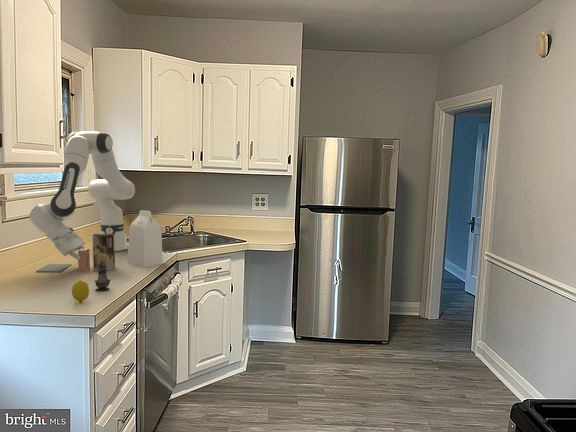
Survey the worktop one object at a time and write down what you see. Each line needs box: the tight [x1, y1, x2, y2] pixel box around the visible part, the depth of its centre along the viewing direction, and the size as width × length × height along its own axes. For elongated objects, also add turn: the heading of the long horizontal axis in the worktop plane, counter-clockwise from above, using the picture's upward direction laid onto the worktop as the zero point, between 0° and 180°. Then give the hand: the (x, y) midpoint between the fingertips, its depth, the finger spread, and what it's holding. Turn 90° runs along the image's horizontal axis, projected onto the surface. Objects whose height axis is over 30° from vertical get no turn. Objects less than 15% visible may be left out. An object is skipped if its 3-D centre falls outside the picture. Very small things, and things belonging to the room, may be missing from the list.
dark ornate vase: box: [94, 260, 112, 293], centre depth 178 cm, size 6×6×12 cm
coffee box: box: [92, 233, 116, 272], centre depth 211 cm, size 9×6×16 cm
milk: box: [127, 209, 164, 268], centre depth 224 cm, size 12×12×26 cm
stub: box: [77, 247, 91, 271], centre depth 210 cm, size 4×4×9 cm
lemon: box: [71, 279, 90, 303], centre depth 162 cm, size 6×6×8 cm
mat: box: [35, 263, 72, 273], centre depth 209 cm, size 14×10×1 cm
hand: (83, 256), depth 210 cm, fingers open, 8 cm apart
